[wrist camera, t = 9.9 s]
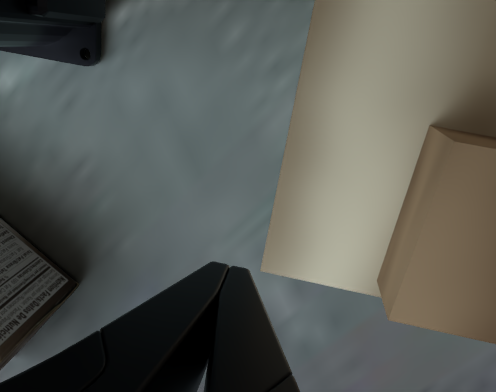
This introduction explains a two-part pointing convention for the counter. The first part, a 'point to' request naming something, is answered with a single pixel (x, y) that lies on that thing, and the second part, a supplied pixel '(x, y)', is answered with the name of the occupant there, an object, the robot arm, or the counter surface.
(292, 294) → the counter surface
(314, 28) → the deck
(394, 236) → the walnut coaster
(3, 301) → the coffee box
